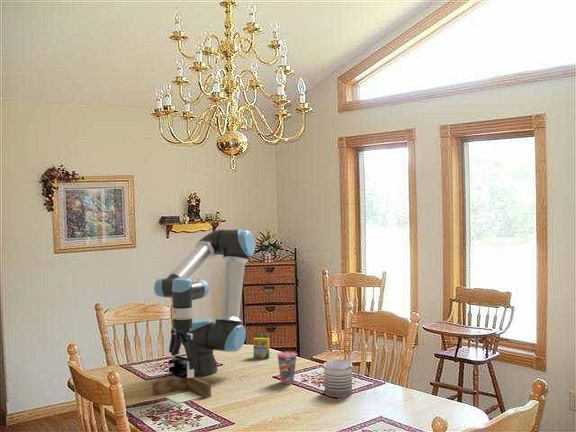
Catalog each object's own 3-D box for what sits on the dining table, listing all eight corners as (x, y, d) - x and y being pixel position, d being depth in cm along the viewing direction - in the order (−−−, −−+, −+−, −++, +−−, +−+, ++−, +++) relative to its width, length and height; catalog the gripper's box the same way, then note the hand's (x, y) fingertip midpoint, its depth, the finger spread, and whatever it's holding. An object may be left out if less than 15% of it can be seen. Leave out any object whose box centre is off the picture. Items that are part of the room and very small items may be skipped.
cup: (274, 384, 268) (273, 355, 268) (282, 378, 276) (281, 350, 276) (294, 386, 265) (294, 357, 264) (302, 380, 273) (302, 352, 272)
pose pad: (190, 392, 259) (190, 391, 259) (201, 397, 252) (201, 396, 252) (165, 397, 252) (165, 397, 252) (177, 403, 245) (177, 402, 245)
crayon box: (253, 358, 311) (253, 334, 310) (254, 356, 314) (254, 333, 313) (268, 358, 309) (268, 335, 309) (269, 357, 312) (269, 333, 312)
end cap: (198, 375, 251) (198, 358, 250) (184, 379, 245) (184, 361, 245) (182, 371, 257) (181, 354, 257) (168, 374, 252) (167, 357, 252)
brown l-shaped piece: (187, 386, 266) (187, 374, 266) (211, 396, 253) (210, 383, 252) (152, 394, 256) (152, 381, 256) (175, 405, 242) (174, 392, 242)
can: (358, 392, 256) (358, 362, 255) (340, 399, 248) (340, 368, 247) (336, 386, 264) (335, 357, 263) (318, 393, 255) (317, 363, 255)
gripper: (159, 315, 257) (160, 370, 258) (189, 323, 239) (190, 382, 240) (176, 312, 262) (176, 366, 263) (206, 321, 244) (207, 378, 245)
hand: (183, 374), depth 251 cm, fingers closed on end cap, 10 cm apart
